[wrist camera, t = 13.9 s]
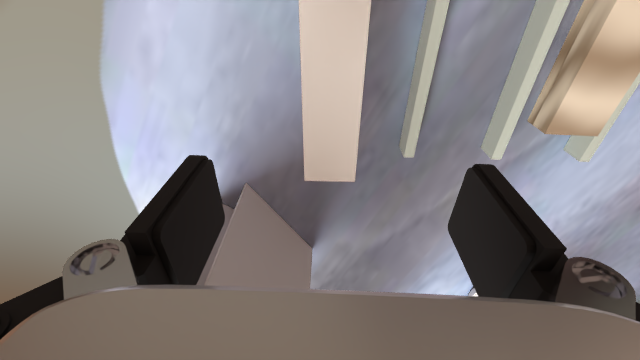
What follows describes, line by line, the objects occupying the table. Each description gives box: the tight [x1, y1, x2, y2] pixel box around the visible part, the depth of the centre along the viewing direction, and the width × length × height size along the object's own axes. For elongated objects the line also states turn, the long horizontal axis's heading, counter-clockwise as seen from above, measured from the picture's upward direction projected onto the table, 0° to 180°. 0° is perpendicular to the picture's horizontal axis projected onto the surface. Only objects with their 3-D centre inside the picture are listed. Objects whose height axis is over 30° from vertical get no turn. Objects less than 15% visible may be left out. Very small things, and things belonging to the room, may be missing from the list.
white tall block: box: [197, 183, 312, 289], centre depth 28 cm, size 14×6×30 cm, turn 34°
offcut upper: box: [533, 0, 640, 136], centre depth 25 cm, size 12×5×2 cm, turn 178°
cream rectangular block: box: [299, 0, 371, 182], centre depth 23 cm, size 14×4×10 cm, turn 0°
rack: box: [399, 0, 640, 162], centre depth 26 cm, size 18×19×2 cm
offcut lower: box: [528, 0, 595, 125], centre depth 26 cm, size 12×5×2 cm, turn 178°
